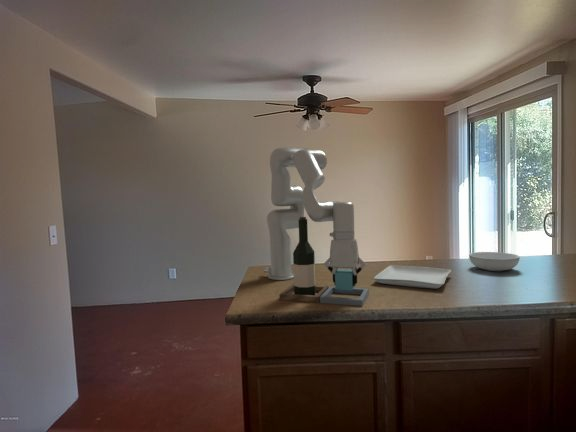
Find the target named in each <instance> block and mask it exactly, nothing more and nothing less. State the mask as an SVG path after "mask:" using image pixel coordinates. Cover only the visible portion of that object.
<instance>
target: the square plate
mask: <svg viewBox="0 0 576 432" xmlns="http://www.w3.org/2000/svg"><path fill="white" fill-rule="evenodd" d="M451 272H452V269H450V268H449V269H448V268H437V267H429V266H416V265H414V266H413V265H388V266H387V267H386V268H384V269H383V270H382V271H380V272H378V273H377V274H376V275H375V276H374V277H372V278H373V280H374V281H375V282H377V283H379V284H383V285H392V286H399V287H401V286H402V287H411V288H419V289H439V288H440V287H442V286H443V285H444V284H445V282H446V279H447V277H448V275H449V274H450V273H451Z"/></svg>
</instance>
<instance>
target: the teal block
mask: <svg viewBox="0 0 576 432" xmlns="http://www.w3.org/2000/svg"><path fill="white" fill-rule="evenodd" d="M352 276H353V271H352V269H345V268H342V269H341V268H340V269H339V268H338V269H337V271H336V272H335V285H334V287H335V289H342V290H352V289H353V288H355V286H353V281H352Z"/></svg>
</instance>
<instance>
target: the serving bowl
mask: <svg viewBox="0 0 576 432" xmlns="http://www.w3.org/2000/svg"><path fill="white" fill-rule="evenodd" d="M468 257H469V260H470V262H471V264H472V265H474V267H475V268H479V269H481V270H484V271H488V272H504V271H507V270H511V269H515V267H516V266H517V265H518V264H519V261H520V258H521V257H520V255H518V254H516V253H515V254H514V253H508V252H498V251H495V252H494V251H478V252H476V251H474V252H471V253H469V254H468Z"/></svg>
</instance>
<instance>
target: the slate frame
mask: <svg viewBox="0 0 576 432" xmlns="http://www.w3.org/2000/svg"><path fill="white" fill-rule="evenodd" d="M369 292H370V291H369V288H361V287H354V288H353V289H352V290H342V289H335V286H332V285H331V286H329V288H328V289H327V290H326V291H325V292H324V293H323V295H322V296H321V297H320V302H319V303H320V304H330V305H331V304H332V305H333V304H334V305H343V306H345V305H346V306H355V307H356V306H359V307H363V306H364V304H365V302H366V301H367V298H368V296H369V294H370V293H369ZM333 294H348V295H360V296H359V298H354V297H353V298H352V297H341V296H339V297H336V296H332V295H333Z"/></svg>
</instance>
